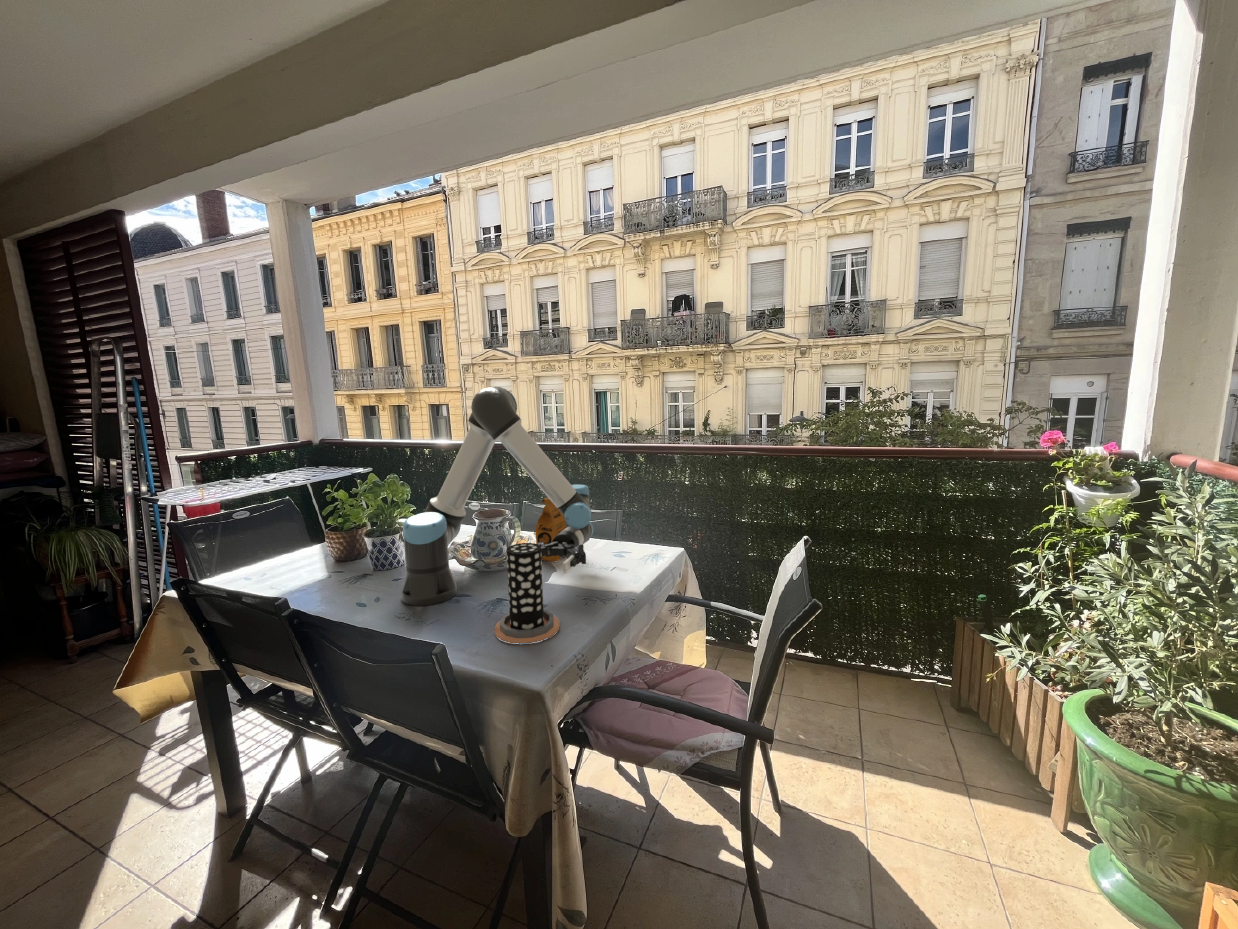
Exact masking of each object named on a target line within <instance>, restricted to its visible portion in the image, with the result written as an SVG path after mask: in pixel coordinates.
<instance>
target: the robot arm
mask: <svg viewBox="0 0 1238 929" xmlns="http://www.w3.org/2000/svg"><path fill="white" fill-rule="evenodd" d="M470 407H471V413H470V416H469V418H467V423H468V425H469V430H468V431H467V434H466V436H465V438H464V440H463V442H462V444H461V447H460V448H459V451H458V453H457V455H456V457H455V459H454V461H453V463H452V465H451V468H450V470H449V471H448V474H447V475H446V477H445V479H444V482H443V484H442V486H441V488H440V490H439V492H438V494H437V496H435V497H432V498H430V500H429V502H428V504H427V506H426V507H425V511H423V512H420V513H417V514H414V515H412V516H409V517H408V518H406V519H405V520H404V522H403V524H402V525H403V526H402V537H403V546H404V558H405V568H406V569H405V570H406V571H405V572H406V573H405V577H404V580H403V581H404V582H403V584H402V588H401V593H400V594H401V600H402V602H403V603H404V604H406V605H410V606H418V607H419V606H421V607H422V606H423V607H424V606H430V605H431V606H432V605H436V604H439V603H444V602H446V601H448V600H450V599H452V598H453V597H454V596H456V595H457V592H458V588H457V587H458V585H457V582H456V580H455V577H454V575H453V573H452V570H451V569H450V565H449V564H450V563H449V562H450V560H449V559H450V558H449V545H450V544H451V543H452V542H453V541H454V539H455V538H456V537H457V536H458V534H459V533H460V530H461V528H462V523H463V522H464V519H465V517H466V515H467V512H466V508H465V506H466V503H467V501H468V500H469V497H470V495H471V493H472V491H473V489H474V487H475V484H476V483H477V481H478V478H479V477H480V475H481V472H482V470H483V469H484V466H485V464H486V462H487V459H488V457H489V455H490V454H491V452H492V449H493V448H494V445H495V444H496V442H499V443H501V444H502V446H503V447H504V448H505V449H506V450H507V451H508V452H509V454H510V455H511V456H512V457H513V458H514V459H515V461H516V462H517V463H518V464H519V465H520V466H521V467H522V468H523V470H524V471H525V472H526V474H528V476H529V477H530V478H531V479H532V481H533V482H534V483H535V484H536V485H537V486H538V487H539V489H540V490H541V491H542V492H543V493H544V494H545V496H546V498H549V499H550V500H551V501H552V503H553V504H554V505H555V506H556V507H557V509H558V510H559V511H560V512H561V513H562V515H563V516H564V518H565V521H566V528H565V529H564V530H563V531H561V532H560V533H559V534H558V535H557V536H555V537H554V539H553V541H552V543H550V544H545V545H544V542H539V543H538V545H540V546H541V557H542V556H546V557H549V556H557V555H558V556H559V557H562V558H563V559H565V561H563V563H562V573H563V574H567V573H568V572H569V571H570V570H571V569H572V568H573V567H574V568H575V567H576V566H577V565H579V564H580V563H581V564H582V565H586V564H587V555H586V554H587V553H586V552H585V550H584V549H585V548H584V546H585V543H587V542H588V541H589V540H590V539H591V537H592V536H593V533H594V526H593V524H592V522H591V517H592V510H591V506H590V493H589V492H590V490H589V486H588V485H586V484H571V482H569V480H568V479H567V478H566V477H565V476H564V474H562V472H561V471H560V470H559V469H558V468H557V466H556V465H555V464H554V463H553V461H552V460H551V459H550V457H548V455H547V454H546V453H545V452H544V451H543V449H542V448H541V447H540V445H538V443H537V442H536V441H535V439H533V438H532V436H531V435H530V434H529V432H528V431H527V430H526V429H525V428H524V426H523V425H522V419H521V417H520V416H519V415H518V413H517V412H518V402H517V400H516V398H515V396H514V395H513V393H511V392H510V391H509V390H507V389H506V388H504V387H501V386H489V387H485V388H482V389H481V390H479V391H477V392H476V394H475V395H474V396H473V398H472V400H471V406H470ZM548 552H549V554H548ZM562 558H561V559H562Z"/></svg>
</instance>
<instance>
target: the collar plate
mask: <svg viewBox="0 0 1238 929" xmlns="http://www.w3.org/2000/svg"><path fill="white" fill-rule="evenodd" d="M543 611H544V625H543V626H540V627H537V628H534V629H528V630H517V629H512V628H510V612H507V613H506V614H505V615H504V616H501V619H500V620H499V621H498V622H497V623H496V624H495V625H494V636H495V635H496V636H495V638H496V637H498V638H500V639H501V640H503V641H506V642H510V643H519V644H520V643H532V642H537V641H541V640H544V639H546V638H550V637H552V636H553V635H554V634H555V633H556V632H558V633H559V631H560V628H559V627H561V626H560V624H561V623H560V619H559V618H558V617H556V616H555V615H554V614H553V613H552V612H550V611H549V610H547V609H544V608H543ZM558 630H559V631H558ZM553 637H554V636H553ZM553 637H552V638H553ZM550 639H551V638H550Z"/></svg>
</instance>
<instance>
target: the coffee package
mask: <svg viewBox="0 0 1238 929" xmlns="http://www.w3.org/2000/svg"><path fill="white" fill-rule="evenodd" d="M541 503H542V504H544V506H543V510H542V512H541V514H540V516H539V518H538V519H537V521H536V526H535V529H534V530H535V531H534V532H535V544H538V543H539V542H544V545H545V544H550V543H552V541H553V539H554V537H555V536H557V535H558V534H559V533H560V532H561V531H563V530H564V529H565V528H566V521H565V518H564V516H563V515H562V513H561V512H560V511H559V510H558V509H557V507H556V506H555V505H554V504H553V503H552V501H551V500H550V499H549V498H548V497H546V498H543V499H542V500H541ZM548 554H549V552H548ZM541 559H542V561H545V562H551V563H552V562H553V563H554V562H555V561H557V562H558V561H559V560H561V559H562V557H559V556H558V555H557V556H549V557H546V556H542V557H541ZM555 563H556V562H555Z"/></svg>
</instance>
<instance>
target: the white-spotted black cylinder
mask: <svg viewBox="0 0 1238 929" xmlns="http://www.w3.org/2000/svg"><path fill="white" fill-rule="evenodd" d="M542 561H543V560H542V559H541V546H540V545H538V544H536V543H534V542H532V543H531V542H521V543H516V544H512V545H509V546H508V547H506V566H507V567H506V568H507V585H508V586H507V589H508V591H507V592H508V606H509V607H508V608H509V612H510V628H512V629H517V630H528V629H534V628H537V627H540V626H543V625H544V611H543V609H544V591H543V590H544V588H543V566H542V565H543V562H542ZM509 612H508V613H509Z"/></svg>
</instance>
